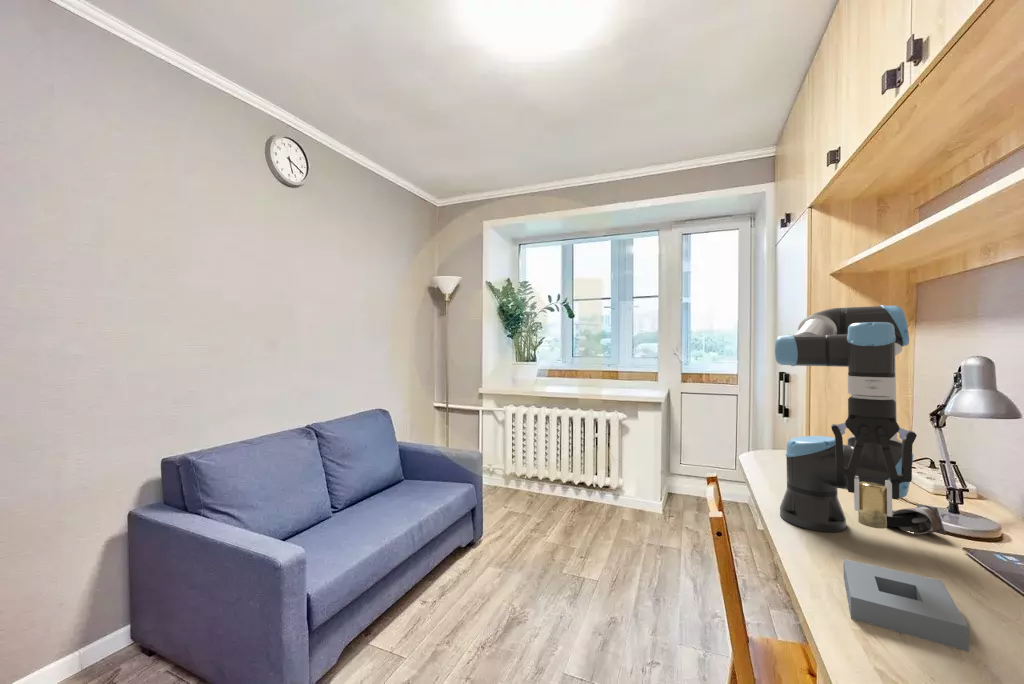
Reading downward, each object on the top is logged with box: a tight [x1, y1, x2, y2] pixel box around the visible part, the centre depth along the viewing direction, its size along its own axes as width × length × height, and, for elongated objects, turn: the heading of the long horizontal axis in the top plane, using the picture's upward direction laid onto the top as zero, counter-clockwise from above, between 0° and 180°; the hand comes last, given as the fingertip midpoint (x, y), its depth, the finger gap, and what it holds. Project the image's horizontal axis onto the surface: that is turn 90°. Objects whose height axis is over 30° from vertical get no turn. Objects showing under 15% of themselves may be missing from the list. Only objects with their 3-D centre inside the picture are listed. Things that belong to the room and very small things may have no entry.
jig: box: [842, 558, 970, 652], centre depth 80 cm, size 16×15×4 cm
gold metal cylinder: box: [857, 482, 888, 530], centre depth 87 cm, size 4×4×8 cm
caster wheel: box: [887, 503, 947, 536], centre depth 113 cm, size 7×11×10 cm
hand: (872, 511), depth 87 cm, fingers closed on gold metal cylinder, 4 cm apart
